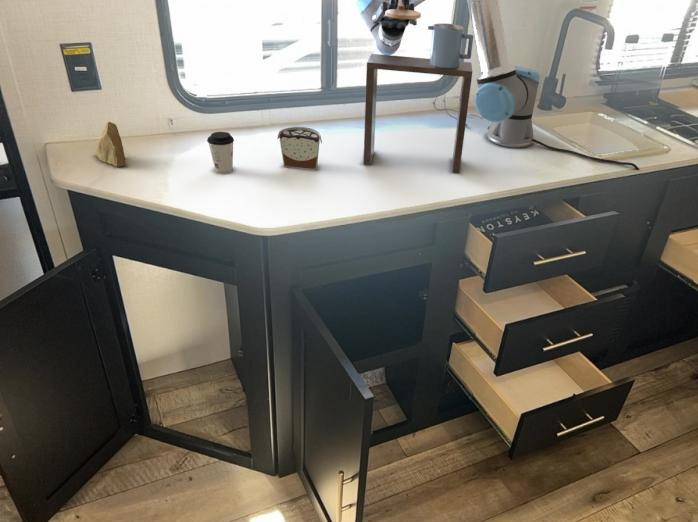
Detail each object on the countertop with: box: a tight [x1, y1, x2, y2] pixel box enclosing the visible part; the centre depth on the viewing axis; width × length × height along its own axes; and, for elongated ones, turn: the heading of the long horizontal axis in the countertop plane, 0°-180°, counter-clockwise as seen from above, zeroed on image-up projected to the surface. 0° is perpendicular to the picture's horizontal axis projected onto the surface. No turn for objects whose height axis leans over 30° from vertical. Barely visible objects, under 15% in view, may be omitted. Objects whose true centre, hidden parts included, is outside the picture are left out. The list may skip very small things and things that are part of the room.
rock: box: [95, 121, 126, 168], centre depth 163 cm, size 11×9×10 cm
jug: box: [427, 22, 474, 68], centre depth 160 cm, size 12×8×10 cm, turn 86°
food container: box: [276, 126, 323, 171], centre depth 169 cm, size 12×6×10 cm, turn 84°
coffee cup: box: [206, 131, 235, 175], centre depth 162 cm, size 7×7×10 cm
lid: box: [385, 0, 422, 20], centre depth 160 cm, size 9×19×2 cm, turn 6°
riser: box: [363, 53, 473, 174], centre depth 171 cm, size 28×10×28 cm, turn 86°
